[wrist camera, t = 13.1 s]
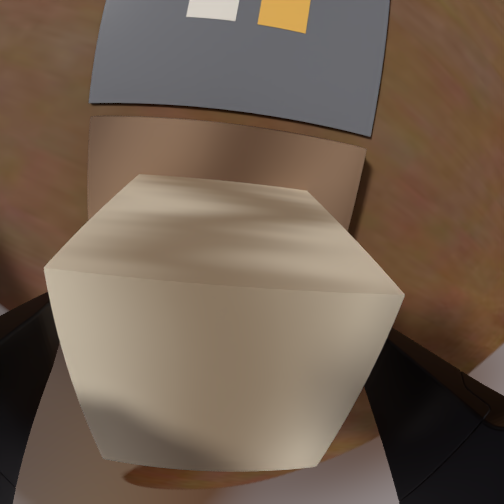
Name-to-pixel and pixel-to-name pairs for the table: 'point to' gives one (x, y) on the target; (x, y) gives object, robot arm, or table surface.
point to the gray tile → (246, 57)
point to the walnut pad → (220, 158)
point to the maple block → (217, 324)
